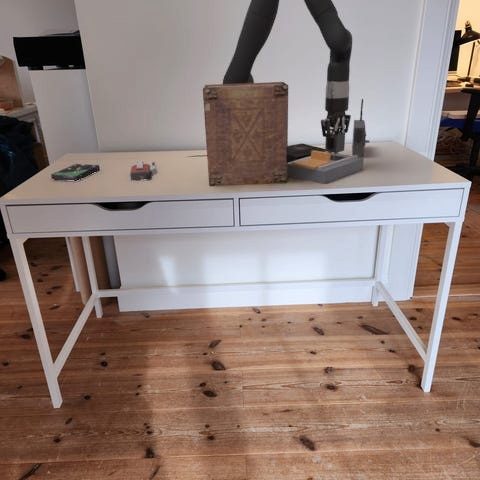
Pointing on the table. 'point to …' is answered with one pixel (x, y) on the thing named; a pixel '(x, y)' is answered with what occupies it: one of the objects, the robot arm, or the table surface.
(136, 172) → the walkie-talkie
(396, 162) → the table surface
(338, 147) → the plug
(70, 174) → the disk drive
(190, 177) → the table surface
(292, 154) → the portable cd player
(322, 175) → the socket block
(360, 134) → the electronic device
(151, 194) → the table surface
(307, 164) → the shutter
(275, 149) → the book
